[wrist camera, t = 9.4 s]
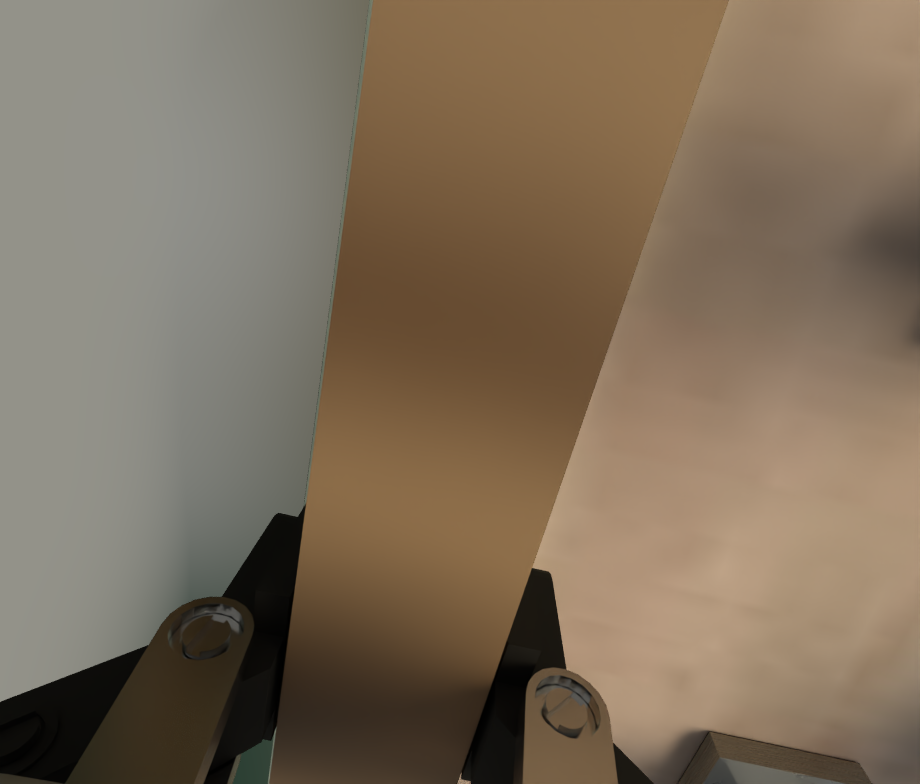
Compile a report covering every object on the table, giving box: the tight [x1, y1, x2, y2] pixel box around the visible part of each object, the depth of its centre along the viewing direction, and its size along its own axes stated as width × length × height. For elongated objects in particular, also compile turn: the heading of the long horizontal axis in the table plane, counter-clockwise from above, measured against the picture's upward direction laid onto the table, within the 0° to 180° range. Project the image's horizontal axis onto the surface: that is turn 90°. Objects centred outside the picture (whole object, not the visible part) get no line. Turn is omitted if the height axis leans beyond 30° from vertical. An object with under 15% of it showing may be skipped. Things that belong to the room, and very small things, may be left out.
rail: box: [269, 0, 729, 784], centre depth 9 cm, size 24×3×3 cm, turn 167°
